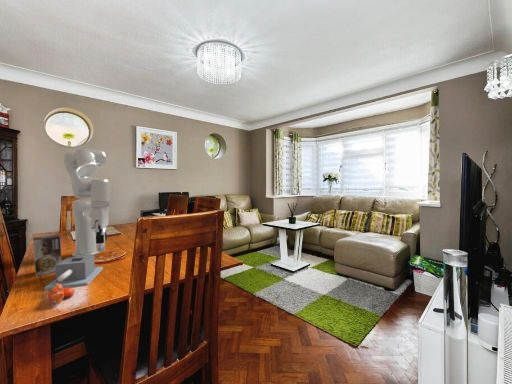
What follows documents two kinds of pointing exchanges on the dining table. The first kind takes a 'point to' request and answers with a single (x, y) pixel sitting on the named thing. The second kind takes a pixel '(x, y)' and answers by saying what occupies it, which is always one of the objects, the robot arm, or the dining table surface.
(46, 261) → the coffee box
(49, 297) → the orange toy bird
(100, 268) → the grey socket block
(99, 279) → the dining table surface
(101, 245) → the key peg
